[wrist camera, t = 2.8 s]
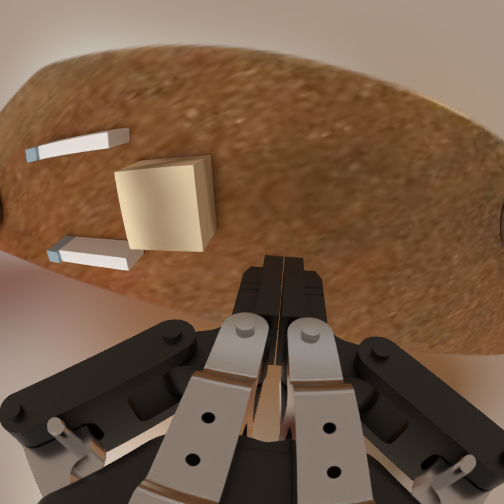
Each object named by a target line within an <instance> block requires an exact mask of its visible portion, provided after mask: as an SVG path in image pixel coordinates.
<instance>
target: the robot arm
mask: <svg viewBox="0 0 504 504" xmlns="http://www.w3.org/2000/svg"><path fill="white" fill-rule="evenodd" d="M501 235H502V240H503V244H504V208H503V214H502V220H501ZM282 270H283V256H271V255H265V259H264V265H263V267H253V266H251V267H250V268H249V269H247V270H246V271H245V272H244V273H243V277H242V281H241V284H240V288H239V291H238V295H237V298H236V302H235V306H234V309H233V313H232V315H231V316H229V317H228V318H227V319H226V320H225V321H224V322H223V324H222V326H221V327H220V328H217V329H214V330H207V331H198V332H195V329H194V328H193V326H192V325H191V324H189V323H188V322H186V321H182V320H167V321H164V322H161V323H159V324H157V325H155V326H153V327H151V328H149V329H147V330H145V331H143V332H142V333H139V334H137V335H135V336H133V337H131V338H129V339H127V340H125V341H123V342H121V343H119V344H117V345H115V346H113V347H111V348H109V349H107V350H105V351H103V352H101V353H99V354H96V355H94V356H93V357H90V358H88V359H86V360H84V361H82V362H80V363H78V364H76V365H74V366H72V367H69V368H67V369H65V370H63V371H61V372H59V373H57V374H54V375H52V376H50V377H48V378H46V379H44V380H42V381H39V382H37V383H35V384H33V385H31V386H29V387H26V388H24V389H22V390H20V391H18V392H16V393H13V394H11V395H9V396H8V397H7V398H6V399H5V400H4V401H3V403H2V404H1V407H0V422H1V424H2V426H3V427H4V428H5V429H6V430H7V431H8V432H9V433H10V434H11V435H12V436H13V437H15V438H16V439H17V440H18V442H19V443H20V444H21V445H22V446H23V448H24V451H25V454H26V457H27V460H28V462H29V465H30V468H31V470H32V473H33V475H34V478H35V480H36V483H37V485H38V487H39V490H40V492H41V494H42V496H43V498H42V499H41V500H40V501H39V503H38V504H483V503H484V501H485V500H486V498H487V496H488V495H489V493H490V491H492V490H493V489H494V488H496V487H497V486H499V485H501V484H502V483H504V430H503V429H502V428H500V427H499V426H498V425H497V424H496V423H494V422H493V421H492V420H491V419H489V418H488V417H487V416H486V415H484V414H483V413H482V412H481V411H480V410H478V409H477V408H476V407H475V406H473V405H472V404H471V403H469V402H468V401H467V400H466V399H465V398H463V397H462V396H461V395H460V394H458V393H457V392H456V391H455V390H453V389H452V388H451V387H450V386H448V385H447V384H446V383H445V382H443V381H442V380H441V379H440V378H438V377H437V376H436V375H434V374H433V373H432V372H431V371H429V370H428V369H427V368H426V367H424V366H423V365H422V364H420V363H419V362H418V361H417V360H415V359H414V358H413V357H411V356H410V355H409V354H408V353H406V352H405V351H404V350H403V349H401V348H400V347H399V346H397V345H396V344H395V343H394V342H392V341H390V340H388V339H386V338H383V337H369V338H367V339H365V340H363V341H362V342H361V343H360V345H357V344H354V343H350V342H347V341H344V340H342V339H340V338H338V337H336V336H335V335H334V334H333V331H332V329H331V327H330V326H329V325H328V324H327V317H326V309H325V300H324V293H323V285H322V279H321V278H320V276H319V275H318V274H317V273H316V271H304V263H303V258H297V257H285V262H284V273H283V284H282ZM281 285H282V294H281ZM280 298H281V307H280ZM279 311H280V320H279ZM278 322H279V332H278V345H277V356H276V365H281V366H282V369H281V378H280V384H279V389H280V390H279V392H280V432H279V433H280V434H279V441H276V442H262V441H259V440H256V439H253V438H252V433H253V428H254V423H255V419H256V415H257V411H258V407H259V403H260V398H261V394H262V390H263V385H264V380H265V378H266V375H267V369H268V365H274V358H275V348H276V340H277V331H278ZM174 414H175V415H174ZM172 415H174V417H173V419H172V422H171V424H170V426H169V428H168V431H167V433H166V434H165V435H162V436H159V437H156V438H154V439H152V440H149V441H148V442H146V443H144V444H143V445H141V446H140V447H138V448H136V449H134V450H133V451H131V452H129V453H128V454H126V455H124V456H122V457H121V458H119V459H118V460H116V461H114V462H112V463H110V464H108V465H106V466H105V467H104V464H105V460H106V452H108V451H110V450H112V449H114V448H115V447H117V446H119V445H121V444H123V443H125V442H127V441H129V440H130V439H132V438H134V437H136V436H138V435H139V434H141V433H143V432H145V431H147V430H148V429H150V428H152V427H154V426H155V425H157V424H159V423H160V422H162V421H164V420H166V419H167V418H169V417H170V416H172ZM363 435H364V436H365V437H366V438H367V439H368V440H369V441H370V442H371V443H372V444H374V446H375V447H377V448H378V449H379V450H380V451H381V452H382V453H383V454H384V455H385V456H386V457H387V458H388V459H389V460H390V461H391V462H393V463H394V464H395V465H396V466H397V467H398V468H399V469H400V470H401V471H403V472H404V473H405V474H406V475H407V476H408V477H409V478H410V479H411V480H413V481H414V482H413V485H412V492H411V493H410V492H409V491H408V490H407V489H406V488H405V487H404V486H403V485H402V484H401V483H400V482H398V480H397V479H396V478H395V477H393V476H392V474H391V473H390V472H389V471H387V469H386V468H385V467H384V466H383V465H382V464H380V462H379V461H377V460H376V459H375V458H373V457H372V456H371V455H369V454H367V453H366V449H365V443H364V438H363Z"/></svg>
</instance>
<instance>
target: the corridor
mask: <svg viewBox="0 0 504 504" xmlns="http://www.w3.org/2000/svg"><path fill="white" fill-rule="evenodd" d="M127 142H130V136H129V128H122V129H115V130H108V131H102V132H96V133H91V134H85V135H80V136H75V137H70V138H66V139H61V140H57V141H53V142H49V143H45V144H42V145H39V146H36V147H33V148H30V149H27V150H26V158H27V162H32V161H37V160H39V159H44V158H49V157H54V156H60V155H65V154H71V153H78V152H84V151H91V150H98V149H106V148H111V147H114V146H117V145H121V144H124V143H127ZM47 253H48V256H49V259H50V261H51V262H57V263H60V262H61V261H66V262H72V263H79V264H86V265H92V266H99V267H106V268H114V269H121V270H128V271H129V270H130V268H131V267H132V266H133V265H134V264H135V263H136V262H137V261H138V260H139V259H140V257H141V256H142V255H143V254H144V250H140V249H130V247H129V243H128V241H126V240H113V239H100V238H88V237H75V236H66V237H64V238H63V239H62V240H60V241H59V242H58V243H56V244H55V245H54V246H52V247H51V248H50V249H48V250H47Z"/></svg>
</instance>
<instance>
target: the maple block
mask: <svg viewBox="0 0 504 504" xmlns="http://www.w3.org/2000/svg"><path fill="white" fill-rule="evenodd" d="M114 173H115V179H116V185H117V191H118V196H119V201H120V206H121V211H122V216H123V221H124V225H125V230H126V234H127V238H128V243H129V247H130V249H140V250H167V251H194V252H203V251H204V250H205V248H206V247H207V245H208V243H209V242H210V240H211V238H212V237H213V235H214V234H215V232H216V230H217V221H216V211H215V200H214V189H213V177H212V164H211V155H199V156H185V157H173V158H162V159H152V160H143V161H139V162H137V163H134V164H132V165H130V166H127V167H125V168H123V169H121V170H118V171H116V172H114Z"/></svg>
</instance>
